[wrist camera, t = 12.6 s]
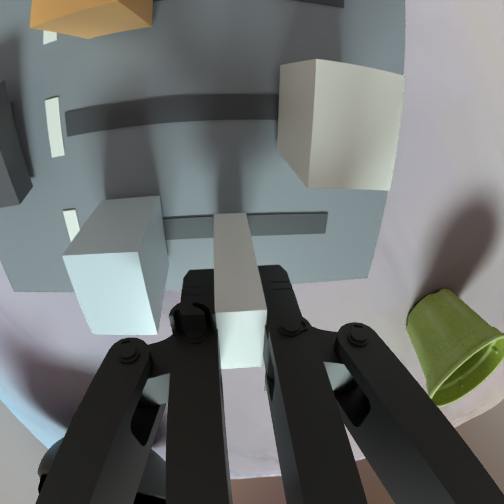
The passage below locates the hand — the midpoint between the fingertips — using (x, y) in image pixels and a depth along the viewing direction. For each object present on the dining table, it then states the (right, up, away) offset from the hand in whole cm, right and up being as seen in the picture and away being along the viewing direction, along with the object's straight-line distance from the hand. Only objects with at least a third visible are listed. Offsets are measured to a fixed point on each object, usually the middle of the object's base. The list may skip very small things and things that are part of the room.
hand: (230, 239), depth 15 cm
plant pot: (+19, -6, +12) cm, 23 cm away
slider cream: (+4, +6, -2) cm, 7 cm away
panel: (-4, +7, 0) cm, 8 cm away
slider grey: (-5, 0, 0) cm, 5 cm away
